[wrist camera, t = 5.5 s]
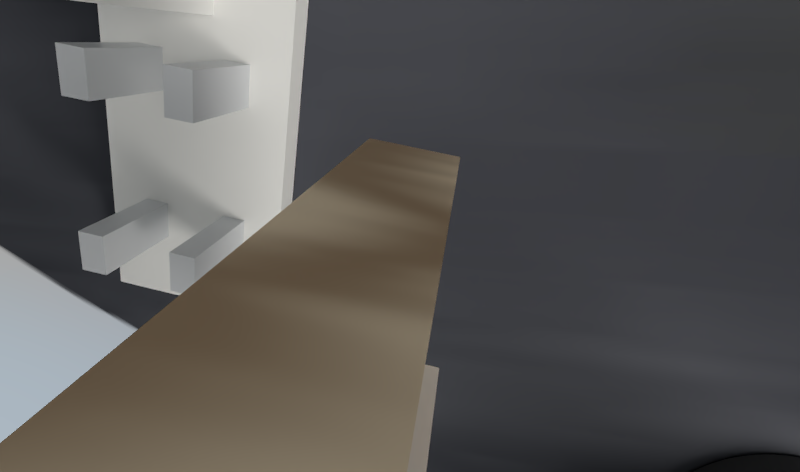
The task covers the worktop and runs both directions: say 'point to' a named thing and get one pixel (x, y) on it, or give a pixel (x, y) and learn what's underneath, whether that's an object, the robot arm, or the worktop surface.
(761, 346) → the worktop surface
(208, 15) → the white holder stand
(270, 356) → the oak door
